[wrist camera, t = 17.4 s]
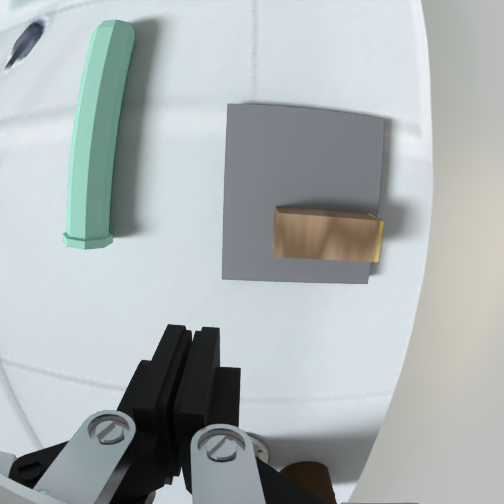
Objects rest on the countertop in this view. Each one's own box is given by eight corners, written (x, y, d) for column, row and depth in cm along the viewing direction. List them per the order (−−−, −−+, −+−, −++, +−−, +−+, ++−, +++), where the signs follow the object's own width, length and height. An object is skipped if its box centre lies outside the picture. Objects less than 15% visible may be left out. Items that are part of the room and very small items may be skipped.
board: (362, 277, 36) (367, 283, 34) (223, 272, 36) (221, 279, 34) (377, 120, 31) (384, 118, 29) (228, 106, 31) (227, 103, 29)
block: (272, 245, 33) (364, 250, 33) (275, 257, 29) (377, 262, 29) (275, 206, 32) (369, 214, 32) (278, 213, 28) (384, 221, 28)
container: (90, 11, 22) (58, 248, 29) (144, 14, 24) (111, 250, 31) (93, 30, 27) (66, 234, 34) (140, 32, 30) (113, 235, 36)
